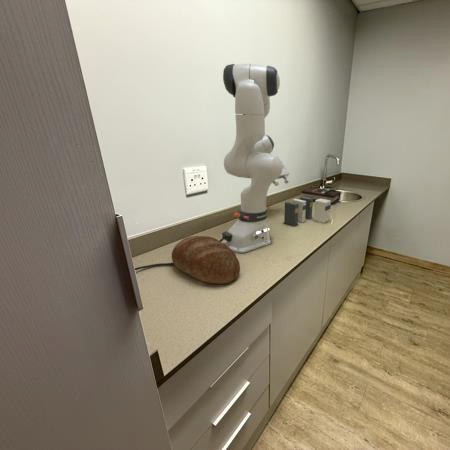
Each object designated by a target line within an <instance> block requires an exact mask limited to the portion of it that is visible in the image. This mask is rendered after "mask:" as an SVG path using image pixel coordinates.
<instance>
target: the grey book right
mask: <svg viewBox="0 0 450 450" xmlns="http://www.w3.org/2000/svg"><path fill="white" fill-rule="evenodd" d="M299 200H304V201H306V212H305V220H306V219H307V220H311V219H312V218H313V206H314V202H313V198H308V197H303V196H300V197H299Z"/></svg>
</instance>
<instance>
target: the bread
mask: <svg viewBox="0 0 450 450" xmlns="http://www.w3.org/2000/svg"><path fill="white" fill-rule="evenodd" d="M222 242H223V241H221V242H220V240H218V239H217V238H215V237H211V236H207V235H206V236H205V235H193V236H188V237H185V238H183V239H182V240H180V241H179V242H178V243H177V244H175V246H174V247H173V249H172V252H171V261H172V263H174V265H173V266H175V267H176V268H177V269H178V270H180V271H181V272H183V273H185V274H187V275H189V276H191V277H192V278H195V279H196V280H198V281H200V282H203V283H208V284H227V283H228V284H229V283H232V282H233V281H234V280H235V279H236V278H238V276H239V274H240V272H241V263H240V261H239V258H238V256H237V255H236V252H233V251H232V250H231V249H230V248H229V247H228V246H227V245H226V244H224V243H222Z"/></svg>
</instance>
